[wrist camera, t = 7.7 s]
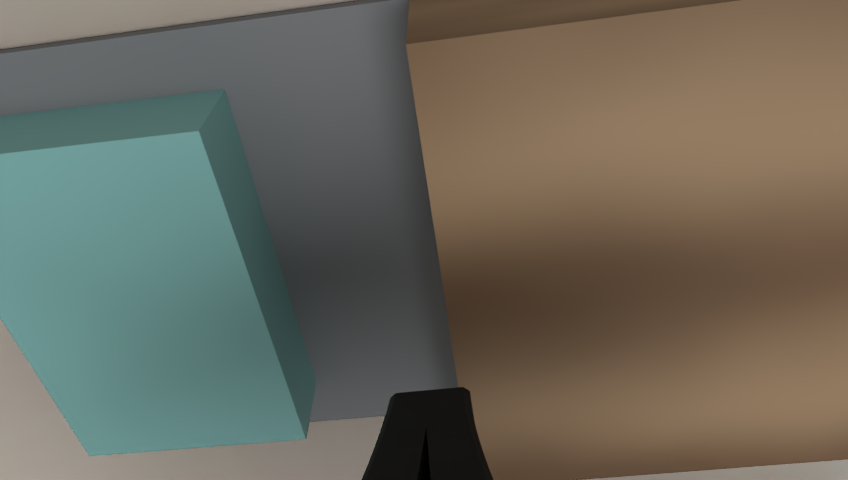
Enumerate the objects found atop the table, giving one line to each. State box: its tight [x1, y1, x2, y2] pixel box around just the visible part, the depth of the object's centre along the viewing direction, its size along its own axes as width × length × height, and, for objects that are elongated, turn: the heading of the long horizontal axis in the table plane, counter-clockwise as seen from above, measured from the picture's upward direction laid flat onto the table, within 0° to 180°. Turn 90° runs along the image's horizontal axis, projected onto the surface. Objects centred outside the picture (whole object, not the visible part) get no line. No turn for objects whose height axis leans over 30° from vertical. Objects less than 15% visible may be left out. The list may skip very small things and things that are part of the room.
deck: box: [406, 0, 848, 480], centre depth 15 cm, size 12×14×3 cm
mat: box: [0, 0, 458, 422], centre depth 17 cm, size 12×12×1 cm
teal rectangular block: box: [0, 89, 316, 456], centre depth 16 cm, size 9×6×2 cm, turn 7°
